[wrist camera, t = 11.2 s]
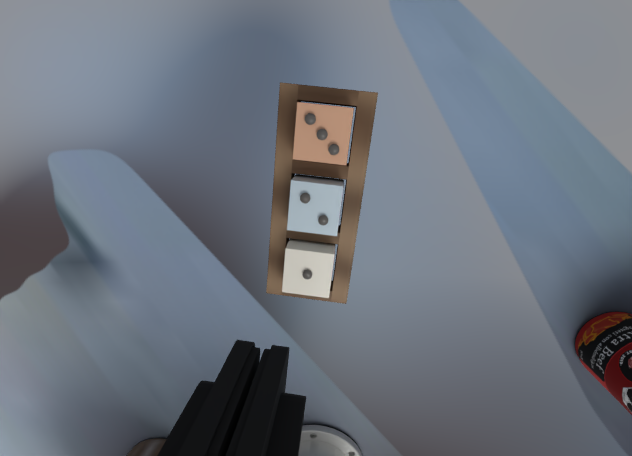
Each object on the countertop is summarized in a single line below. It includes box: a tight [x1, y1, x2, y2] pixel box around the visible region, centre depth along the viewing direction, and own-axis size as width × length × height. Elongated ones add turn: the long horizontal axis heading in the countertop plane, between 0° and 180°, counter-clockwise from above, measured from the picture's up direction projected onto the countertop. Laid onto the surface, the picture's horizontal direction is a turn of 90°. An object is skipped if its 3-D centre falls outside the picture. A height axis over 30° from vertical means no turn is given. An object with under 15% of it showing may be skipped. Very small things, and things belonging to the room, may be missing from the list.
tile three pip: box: [293, 102, 354, 165], centre depth 29 cm, size 5×5×4 cm
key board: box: [266, 83, 378, 304], centre depth 32 cm, size 20×8×2 cm, turn 174°
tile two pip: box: [287, 174, 344, 236], centre depth 31 cm, size 5×5×4 cm
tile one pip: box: [282, 238, 335, 298], centre depth 33 cm, size 5×5×4 cm
